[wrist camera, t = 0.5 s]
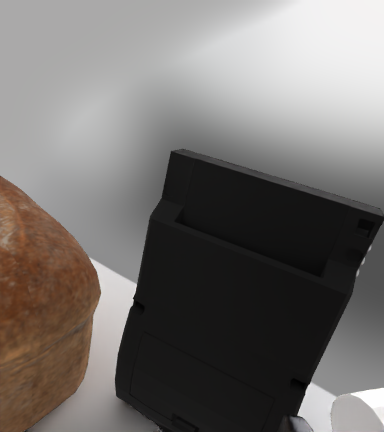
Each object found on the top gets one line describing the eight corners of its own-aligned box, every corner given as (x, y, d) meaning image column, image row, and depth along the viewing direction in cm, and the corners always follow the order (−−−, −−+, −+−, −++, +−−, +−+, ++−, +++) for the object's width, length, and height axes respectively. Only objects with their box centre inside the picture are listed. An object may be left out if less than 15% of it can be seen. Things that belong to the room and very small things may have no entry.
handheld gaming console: (268, 446, 24) (382, 206, 17) (257, 511, 20) (399, 231, 13) (136, 371, 28) (184, 147, 21) (103, 414, 24) (149, 152, 17)
